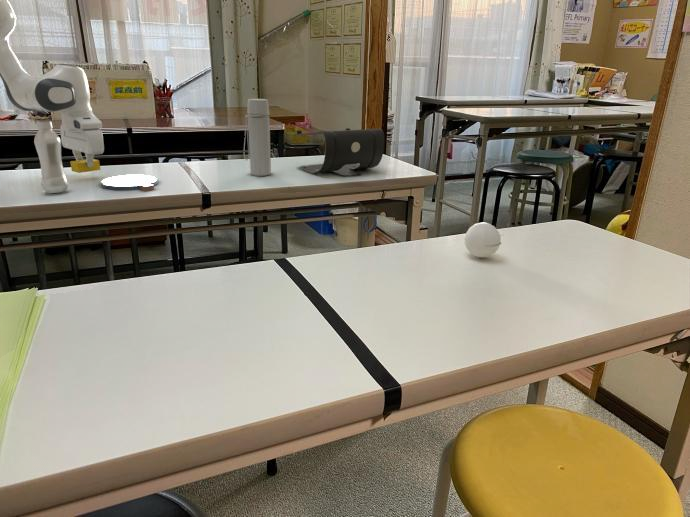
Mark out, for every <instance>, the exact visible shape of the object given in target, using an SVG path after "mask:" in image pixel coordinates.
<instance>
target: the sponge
mask: <svg viewBox="0 0 690 517" xmlns="http://www.w3.org/2000/svg"><path fill="white" fill-rule="evenodd" d="M85 161H86V158H85V159H84V160H78V161H76V160H71V161H69V162H70V168H71V171H72V172H75V173H78V174H81V173H88V172H96V171H101V164H100V163H101V162H100V160H99V159H95V158H94V159H93V167H87V166H86V164H85Z"/></svg>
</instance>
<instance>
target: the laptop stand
mask: <svg viewBox="0 0 690 517" xmlns="http://www.w3.org/2000/svg"><path fill="white" fill-rule="evenodd" d="M310 135H312V136H313V135H323V137H324V144H325V147H324V148H325V150H324V159H323V163H319V164H317V163H316V164H309V165H302V166H299V169H300V170H302V171H304V172H306V173H309V174H321V173H331V172H332V173H334V174H336V175H339V176H342V177H355V176H360V175H361V173H359V172H357V171H354V170H362V169H363V170H364V169H373V168H376V167H377V166H379V164H380V163H381V162H382V159H383V155H384V151H385V133H384V130H383V129H382V128H367V129H351V128H347V127H346V128H345V129H344V130H343V129H342V130H319V131H313V132H306V133H305V132H302V130H296V134H294V136H310ZM354 143H358V144H359V149H358V150H357V151H353V149H352V147H353V144H354Z"/></svg>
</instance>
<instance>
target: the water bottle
mask: <svg viewBox="0 0 690 517" xmlns="http://www.w3.org/2000/svg"><path fill="white" fill-rule="evenodd" d="M269 106H270V105H269V100H268V99H266V98H247V110H246V111H247V112H246V114H244V118H245V124H244V125H245V126H244V127H245V128H244V135H246V138H244V139H243V140H244V141H243V150H245V146H246V142H248V143H247V155H248V157H247V158H246V155H245V153H243V158H244V161H248V160H249V172H250V174H251V175H252V176H254V177H267V176H270V175H271V173H272V163H271V162H272V161H271V160H272V159H271V127H270V126H271V125H270V124H271V122H270V115H271V113H270V108H269ZM247 129H248V130H247ZM246 139H247V141H246Z"/></svg>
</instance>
